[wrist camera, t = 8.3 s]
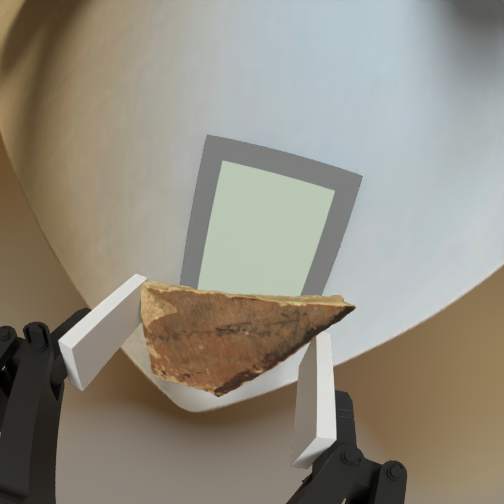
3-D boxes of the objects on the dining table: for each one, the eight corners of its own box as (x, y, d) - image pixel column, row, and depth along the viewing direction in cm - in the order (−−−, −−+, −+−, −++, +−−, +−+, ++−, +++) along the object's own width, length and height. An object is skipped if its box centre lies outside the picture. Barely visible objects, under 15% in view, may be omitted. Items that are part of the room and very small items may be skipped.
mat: (180, 302, 31) (176, 306, 30) (209, 135, 24) (206, 134, 23) (301, 338, 30) (301, 344, 29) (360, 175, 23) (363, 176, 22)
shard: (352, 291, 13) (357, 310, 12) (325, 394, 16) (326, 415, 14) (148, 270, 15) (132, 283, 13) (165, 371, 18) (154, 388, 16)
